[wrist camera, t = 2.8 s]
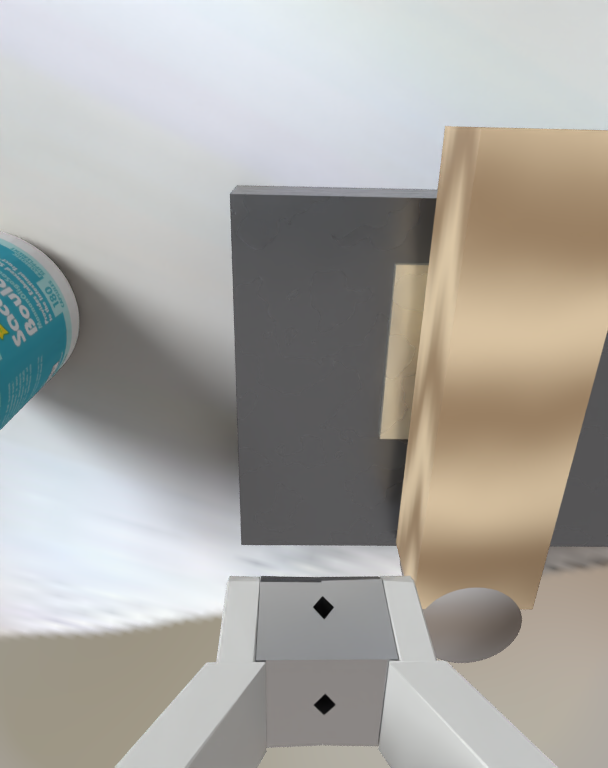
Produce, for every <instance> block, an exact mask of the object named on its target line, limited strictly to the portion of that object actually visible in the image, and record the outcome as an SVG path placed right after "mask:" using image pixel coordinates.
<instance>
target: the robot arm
mask: <svg viewBox="0 0 608 768" xmlns="http://www.w3.org/2000/svg"><path fill="white" fill-rule="evenodd" d="M322 744H323V745H339V746H342V745H343V746H379V748H378V749H379V751H380V752H381V754H382V755H383V757H384V758H385V760H386V761H387V763H388V764H389V766H390V767H391V768H558V767H557V766H556V765H555V764H554V763H553V762H552V761H551V760H550V759H549V758H548V757H547V756H546V755H545V754H543V752H542V751H541V750H539V749H538V748H537V747H536V746H535V745H534V744H533V743H532V742H531V741H530V740H529V739H528V738H527V737H526V736H525V735H524V734H523V733H521V731H520V730H519V729H517V728H516V727H515V726H514V725H513V724H512V723H511V722H510V721H509V720H508V719H507V718H506V717H505V716H504V715H503V714H502V713H501V712H500V711H499V710H498V709H496V707H494V706H493V705H492V704H491V703H490V702H489V701H488V700H487V699H486V698H485V697H484V696H483V695H482V694H481V693H480V692H479V691H478V690H477V689H476V688H474V687H473V686H472V685H471V684H470V683H469V682H468V681H467V680H466V679H465V678H464V677H463V676H462V675H461V674H460V673H459V672H458V671H457V670H456V669H455V668H453V666H451V665H450V664H449V663H448V662H447V661H437V659H436V655H435V652H434V648H433V645H432V641H431V638H430V634H429V631H428V627H427V624H426V620H425V617H424V613H423V610H422V606H421V603H420V599H419V596H418V592H417V589H416V585H415V582H414V580H413V579H412V577H411V576H380V577H276V576H261V579H260V577H244V576H230V577H229V579H228V582H227V587H226V594H225V602H224V609H223V617H222V624H221V632H220V639H219V647H218V654H217V662H207V663H206V664H205V665H204V666H203V667H202V668H201V670H200V671H199V672H198V673H197V674H196V675H195V677H194V678H193V679H192V680H191V681H190V682H189V683H188V685H186V687H185V688H184V689H183V690H182V691H181V692H180V693H179V695H178V696H177V697H176V698H175V699H174V700H173V701H172V703H171V704H170V705H169V706H168V707H167V708H166V709H165V710H164V712H163V713H162V714H161V715H160V716H159V717H158V718H157V720H156V721H155V722H154V723H153V724H152V725H151V726H150V727H149V729H148V730H147V731H146V732H145V733H144V734H143V735H142V737H141V738H140V739H139V740H138V741H137V742H136V743H135V745H134V746H133V747H132V748H131V749H130V750H129V751H128V753H127V754H126V755H125V756H124V757H123V758H122V759H121V760H120V762H119V763H118V764H117V765H116V766H115V767H114V768H257V767H258V766H259V764H260V762H261V760H262V758H263V757H264V755H265V753H266V748H269V747H291V746H313V745H314V746H315V745H322Z"/></svg>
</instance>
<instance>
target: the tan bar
mask: <svg viewBox="0 0 608 768" xmlns="http://www.w3.org/2000/svg"><path fill="white" fill-rule="evenodd" d="M607 331H608V130H575V129H534V128H493V127H451V126H445V132H444V141H443V149H442V158H441V166H440V175H439V183H438V192H437V200H436V208H435V217H434V225H433V234H432V242H431V251H430V259H429V268H428V276H427V285H426V293H425V302H424V310H423V319H422V327H421V335H420V344H419V352H418V361H417V369H416V378H415V386H414V395H413V403H412V412H411V420H410V429H409V437H408V446H407V454H406V463H405V471H404V479H403V488H402V496H401V505H400V513H399V522H398V530H397V539H396V545H397V549H398V553H399V557H400V566H401V571H402V575H403V576H411V577H412V579H413V580H414V582H415V585H416V589H417V592H418V596H419V599H420V603H421V606H422V610H423V613H424V617H425V620H426V624H427V627H428V631H429V634H430V638H431V641H432V645H433V648H434V652H435V655H436V658H438V659H441V660H444V661H448V662H454V663H469V662H476V661H480V660H483V659H487V658H489V657H491V656H494V655H496V654H497V653H499V652H501V651H502V650H504V649H505V648H506V647H508V646H509V645H510V644H511V643H512V642H513V641H514V639H515V638H516V636H517V635H518V632H519V630H520V628H521V623H522V616H521V612H520V609H533V606H534V602H535V598H536V595H537V591H538V587H539V583H540V580H541V576H542V572H543V569H544V565H545V561H546V557H547V554H548V550H549V546H550V543H551V539H552V535H553V531H554V528H555V524H556V520H557V517H558V513H559V509H560V505H561V502H562V498H563V494H564V491H565V487H566V483H567V479H568V476H569V472H570V468H571V464H572V461H573V457H574V453H575V450H576V446H577V442H578V438H579V435H580V431H581V427H582V424H583V420H584V416H585V412H586V409H587V405H588V401H589V398H590V394H591V390H592V386H593V383H594V379H595V375H596V372H597V368H598V364H599V360H600V357H601V353H602V349H603V345H604V342H605V338H606V334H607Z"/></svg>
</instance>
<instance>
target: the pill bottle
mask: <svg viewBox="0 0 608 768" xmlns="http://www.w3.org/2000/svg"><path fill="white" fill-rule="evenodd" d="M78 333H79V311H78V306H77V302H76V299H75V296H74V293H73V291H72V289H71V287H70V284H69V283H68V281H67V279H66V278H65V276H64V275H63V273H62V272H61V271H60V269H59V268H58V267H57V266H56V264H55V263H54V262H53V261H52V260H51V259H50V258H49V257H48V256H47V255H45V254H44V253H43V252H42V251H40V250H39V249H38V248H36V247H35V246H33V245H32V244H30V243H28V242H26V241H25V240H23V239H21V238H18V237H16V236H13V235H11V234H8V233H5V232H1V231H0V430H1V429H2V428H3V427H4V426H5V425H6V424H7V423H8V422H9V421H10V420H11V419H12V418H13V416H14V415H15V414H16V413H17V412H18V411H19V410H20V409H21V408H22V407H23V406H24V405H25V404H26V403H27V402H28V401H29V400H30V399H31V398H32V397H33V396H34V395H35V394H36V393H37V392H38V391H39V390H40V389H41V388H42V387H43V386H44V385H45V384H46V383H47V382H48V381H49V380H50V379H51V378H52V377H53V376H54V375H55V374H56V373H57V371H58V370H59V369H60V368H61V367H62V366H63V365H64V364H65V363H66V361H67V360H68V359H69V357H70V355H71V353H72V352H73V349H74V347H75V345H76V342H77V338H78Z"/></svg>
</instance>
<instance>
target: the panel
mask: <svg viewBox="0 0 608 768" xmlns="http://www.w3.org/2000/svg"><path fill="white" fill-rule="evenodd" d="M437 192H438V190H425V189H378V188H331V187H284V186H236V187H235V189H234V190H233V191H232V192H231V193H230V211H231V241H232V271H233V302H234V332H235V362H236V393H237V423H238V454H239V484H240V514H241V545H377V546H397V545H396V539H397V530H398V522H399V513H400V505H401V496H402V488H403V479H404V471H405V463H406V454H407V446H408V437H409V429H410V420H411V412H412V403H413V395H414V386H415V378H416V369H417V361H418V352H419V344H420V335H421V327H422V319H423V310H424V302H425V293H426V285H427V276H428V268H429V259H430V251H431V242H432V234H433V225H434V217H435V208H436V200H437ZM550 546H597V547H608V331H607V334H606V338H605V342H604V345H603V349H602V353H601V357H600V360H599V364H598V368H597V372H596V375H595V379H594V383H593V386H592V390H591V394H590V398H589V401H588V405H587V409H586V412H585V416H584V420H583V424H582V427H581V431H580V435H579V438H578V442H577V446H576V450H575V453H574V457H573V461H572V464H571V468H570V472H569V476H568V479H567V483H566V487H565V491H564V494H563V498H562V502H561V505H560V509H559V513H558V517H557V520H556V524H555V528H554V531H553V535H552V539H551V543H550Z"/></svg>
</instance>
